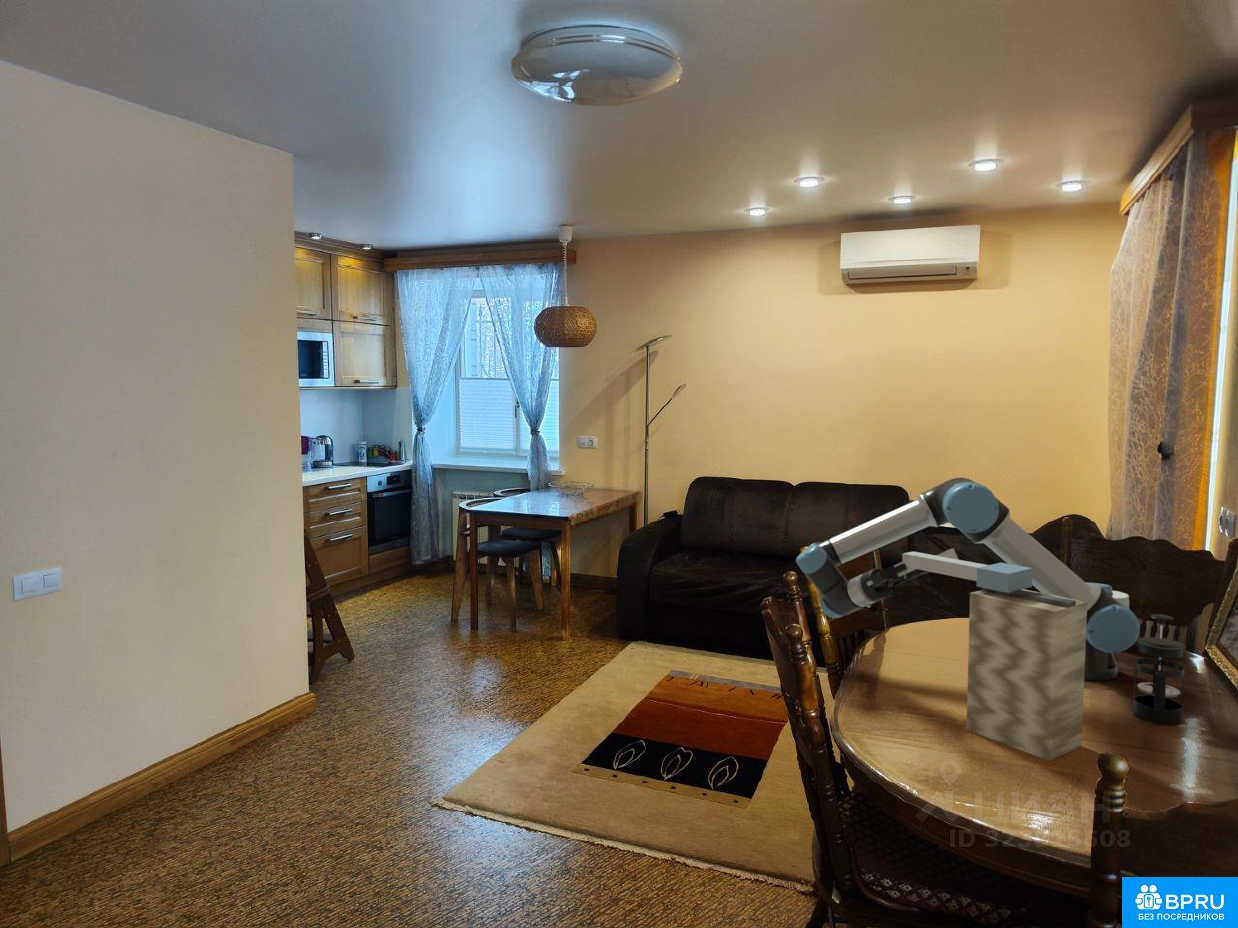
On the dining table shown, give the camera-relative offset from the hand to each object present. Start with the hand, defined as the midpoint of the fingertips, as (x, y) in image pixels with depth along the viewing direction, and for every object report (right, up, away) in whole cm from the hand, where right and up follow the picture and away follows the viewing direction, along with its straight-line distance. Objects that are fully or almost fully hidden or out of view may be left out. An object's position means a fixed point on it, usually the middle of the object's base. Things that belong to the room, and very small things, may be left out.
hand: (937, 557), depth 182 cm
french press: (+47, -35, -5) cm, 59 cm away
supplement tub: (+67, -30, +46) cm, 87 cm away
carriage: (+3, -4, -5) cm, 7 cm away
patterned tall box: (+12, -36, -15) cm, 41 cm away
